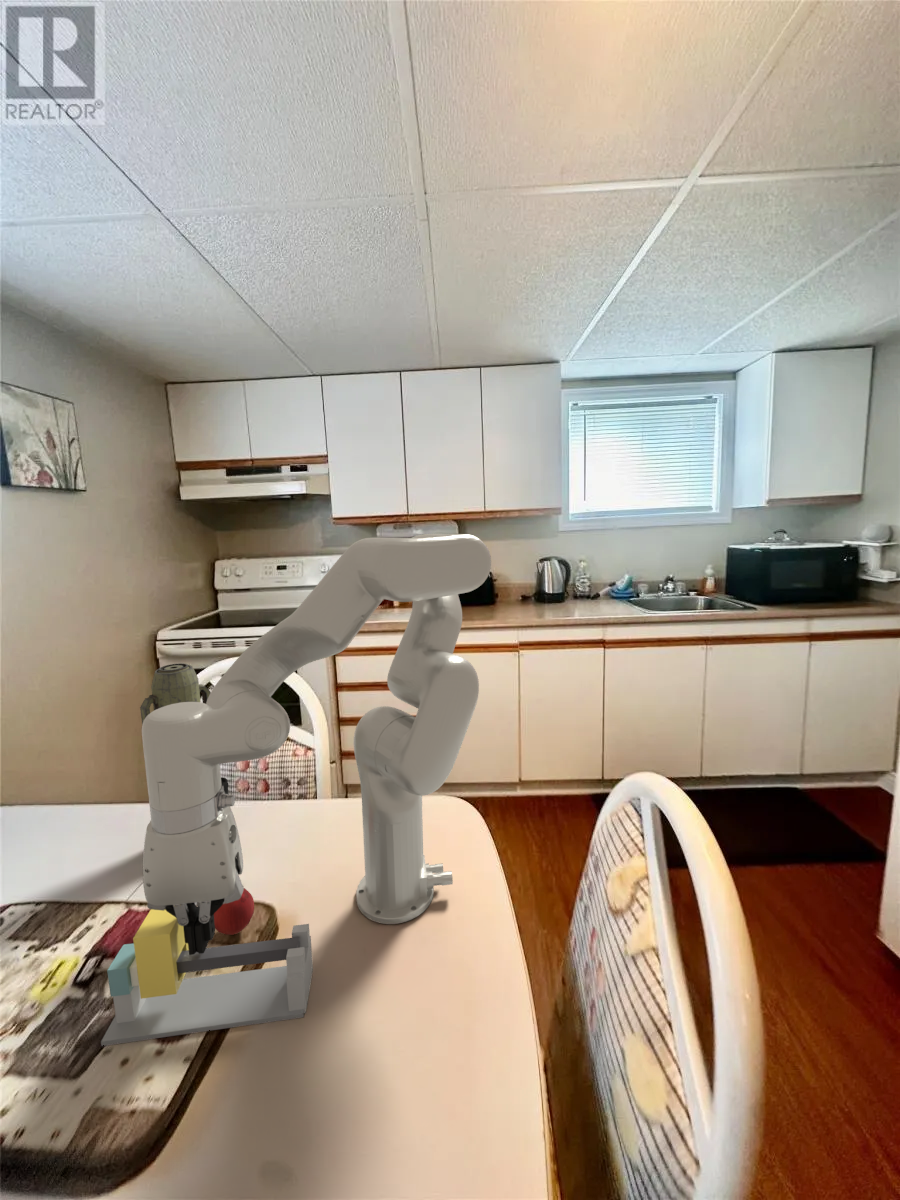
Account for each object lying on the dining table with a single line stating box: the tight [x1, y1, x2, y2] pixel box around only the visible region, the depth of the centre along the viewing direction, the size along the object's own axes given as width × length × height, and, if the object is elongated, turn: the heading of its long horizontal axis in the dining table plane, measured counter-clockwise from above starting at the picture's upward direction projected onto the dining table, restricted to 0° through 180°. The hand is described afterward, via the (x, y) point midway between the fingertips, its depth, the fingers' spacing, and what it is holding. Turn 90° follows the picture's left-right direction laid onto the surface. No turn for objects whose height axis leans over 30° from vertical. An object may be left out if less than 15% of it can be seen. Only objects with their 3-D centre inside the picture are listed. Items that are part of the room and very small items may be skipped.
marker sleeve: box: [132, 909, 189, 999], centre depth 59 cm, size 4×4×8 cm
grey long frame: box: [100, 923, 314, 1047], centre depth 60 cm, size 23×7×8 cm, turn 98°
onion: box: [214, 887, 255, 936], centre depth 71 cm, size 6×6×8 cm
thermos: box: [139, 662, 211, 725], centre depth 91 cm, size 9×12×35 cm
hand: (201, 944), depth 60 cm, fingers closed
